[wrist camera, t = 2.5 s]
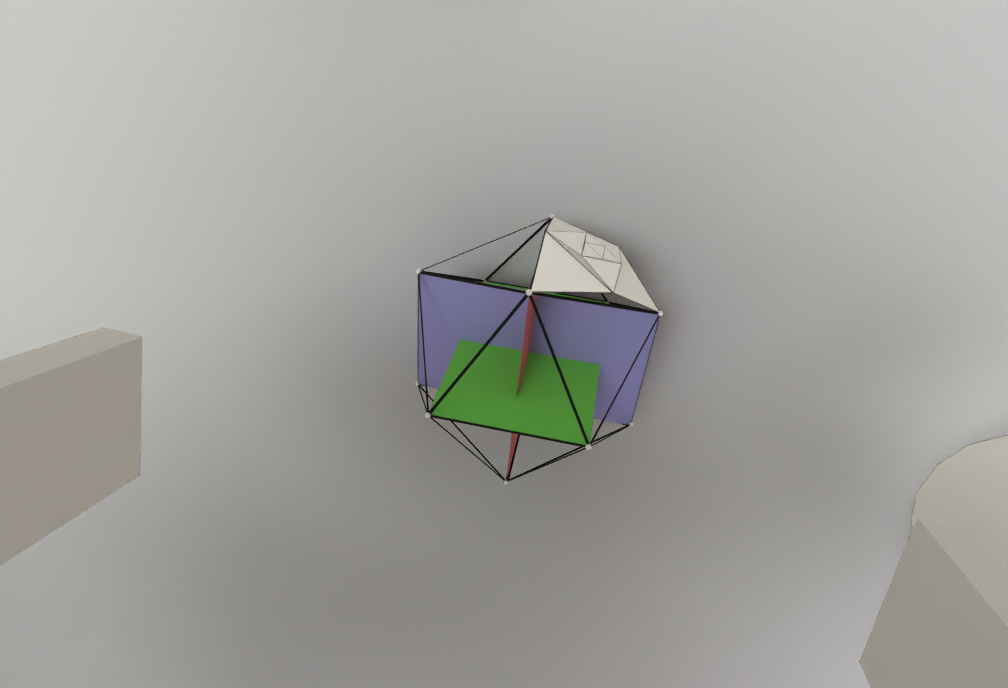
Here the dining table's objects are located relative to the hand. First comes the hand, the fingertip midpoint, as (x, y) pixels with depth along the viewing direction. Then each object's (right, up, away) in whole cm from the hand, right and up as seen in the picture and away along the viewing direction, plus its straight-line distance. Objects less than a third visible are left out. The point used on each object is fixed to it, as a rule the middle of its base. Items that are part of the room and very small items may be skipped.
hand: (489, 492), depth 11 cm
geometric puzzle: (+2, +3, +11) cm, 12 cm away
